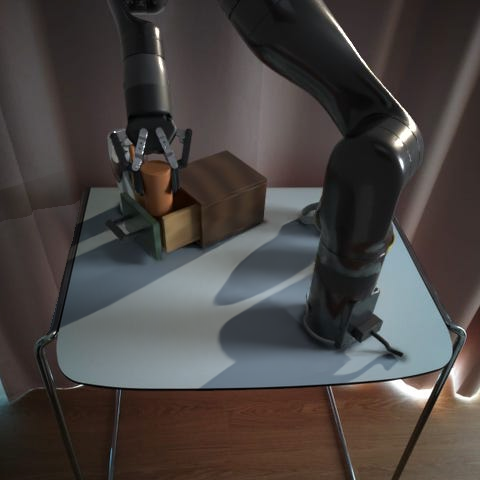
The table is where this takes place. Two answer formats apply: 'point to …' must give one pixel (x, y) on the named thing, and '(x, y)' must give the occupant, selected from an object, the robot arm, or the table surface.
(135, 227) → the drawer
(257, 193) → the cabinet
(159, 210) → the orange cylinder
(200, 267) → the table surface
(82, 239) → the table surface
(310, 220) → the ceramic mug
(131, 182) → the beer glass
